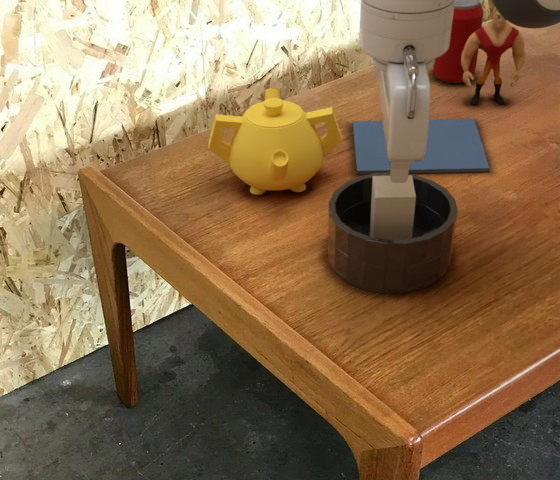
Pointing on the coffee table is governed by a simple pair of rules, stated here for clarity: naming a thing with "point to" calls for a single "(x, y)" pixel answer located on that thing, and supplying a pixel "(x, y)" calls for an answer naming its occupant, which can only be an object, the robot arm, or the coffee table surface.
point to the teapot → (275, 143)
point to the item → (392, 208)
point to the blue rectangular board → (439, 154)
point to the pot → (390, 253)
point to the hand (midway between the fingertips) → (394, 156)
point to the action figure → (493, 53)
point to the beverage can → (459, 41)
